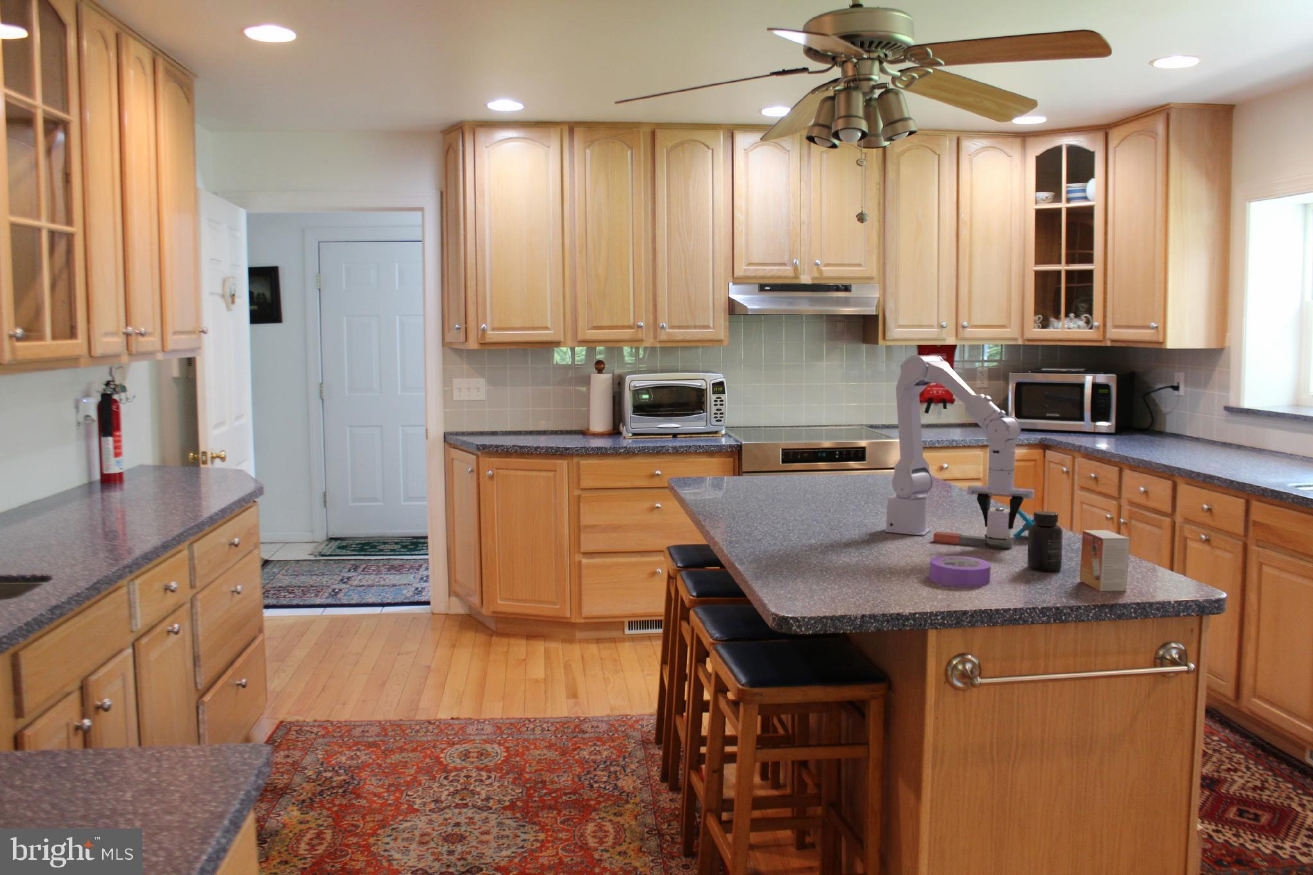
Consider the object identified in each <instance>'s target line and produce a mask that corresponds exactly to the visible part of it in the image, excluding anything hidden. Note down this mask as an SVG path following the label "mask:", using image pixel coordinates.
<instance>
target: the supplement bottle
mask: <svg viewBox="0 0 1313 875" xmlns="http://www.w3.org/2000/svg"><path fill="white" fill-rule="evenodd" d="M1033 521H1035V522H1034V524H1032V525H1031V526H1030V527H1029V529H1028V531H1027V564H1026V566H1027V567H1028V569H1030V570H1032V571H1036V572H1041V573H1042V572H1043V573H1046V572H1047V573H1056V572H1059V571H1061V570H1062V567H1063V566H1062V564H1063V532H1064V531H1063V528H1062V527H1061V526H1059V524H1058V523H1059V513H1058V512H1055V511H1047V510H1046V511H1045V510H1044V511H1043V510H1040V511H1039V510H1038V511H1034V512H1033Z"/></svg>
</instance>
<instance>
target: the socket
mask: <svg viewBox="0 0 1313 875" xmlns="http://www.w3.org/2000/svg"><path fill="white" fill-rule="evenodd" d="M1009 519H1010V508H1009V509H1008V508H1004V507H990V509H989V510H988V519H987V527H986V534H987V537H995V538H1005V539H1008V537H1011V531H1012V529H1009Z"/></svg>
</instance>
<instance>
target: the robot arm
mask: <svg viewBox="0 0 1313 875" xmlns="http://www.w3.org/2000/svg"><path fill="white" fill-rule="evenodd" d="M899 369H900V374H899V378H898V380H897V383H896V386H895V394H896V409H897V423H898V424H897V425H898V441H899V442H898V443H899V444H898V445H899V455H900V456H899V457H900V458H899V460H898V461H897V463H896V464H895V465H894V466H893V467H894V470H893V471H894V472H893V477H892V479H891V487H892V490H893V491H894V493H895V494H896V495H895V494H893V495H890V496H888V498H887V499H888V500H887V503H886V526H885V527H886V529H885V532H886V533H892V534H893V533H894V534H902V535H903V534H905V535H914V536H915V535H917V536H925V535H926V534H928V533H929V532H930V531H931V528H930V527H929V528H928V527H927V513H928V511H927V510H928V496H929V492H930V491H931V490H932V488H933V486H934V477H933V475H932V472H931V470H930V464H929V462H928V461H927V460H926V459H925V458H924V452H923V451H924V450H923V438H922V436H923V434H922V417H921V405H920V403H921V402H920V394H921V393H922V392H923V391H924V390H925V389H926V387H928V385H930V384H932V383H933V384H940V385H942V386H943V387H944V389H945V388H946V390H947V391H949V392H950V393H951V394H952V395H954V396H955V397H956V398H957V400H959V401H960V402H961V403H963V404H964V410H965V414H967V415H968V416H969V417H970V418H972V419H973V420H974V422H975V423H977V424H978V425H979V426H980V427H981V428H982V429H983V430H984V435H985V437H986V439H987V441H988V470H987V485H973V484H972V485H967V491H966V492H967V493H966V494H967V495H969V496H972V495H975V496H976V500H977V503H978V505H979V509H980V510H981V513H982V516H983V521H984V527H985V528H987V519H988V510H989V509H990V508H991V499H992V497H1005V498H1010V499H1009V509H1010V519H1009V529H1011V530H1013V529H1014V524H1015V519H1016V516H1017V515H1018V513H1017V512H1018V510H1019V509H1020V508H1021V505H1022V503H1023V502H1024V499H1028V500H1034V499H1035V489H1028V488H1021V487H1020V488H1019V487H1014V486H1015V468H1016V466H1015V464H1016V440H1017V439H1018V438H1019V436H1020V435H1021V432H1022V429H1021V425H1020V422H1019V421H1018V419H1017V418H1016V417H1015V416H1011V415H1006V411H1005V410H1001V409H1000V408H999V407H998V406H997V405H995V403H993V401H991V400H993V399H992V397H991V396H990V395H985V394H983V393H981V394H980V393H979V394H976V393H975V392H974V391H973V390H972V389H971V388H970V387H969V385H967V384H966V382H965V381H964V380H963V379H962V378H961V377H960V376H959V375H958V374H957V373H956V372H955V371H954V370H953V369H952V367H951V365H950V363H948V362H947V361H946V360H944V359H943V358H942V357H941V356H940V355H938V354H930V355H918V354H913V355H910V356H908V357H907V358H906V359H905V360H904V361H903V362H902V363H901V364H900V368H899Z"/></svg>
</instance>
